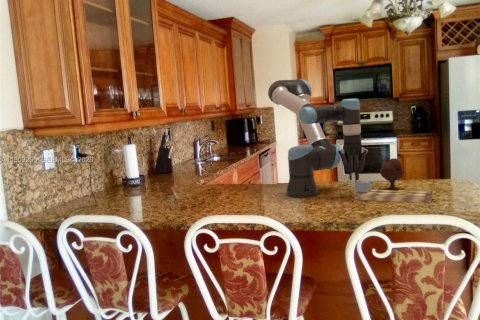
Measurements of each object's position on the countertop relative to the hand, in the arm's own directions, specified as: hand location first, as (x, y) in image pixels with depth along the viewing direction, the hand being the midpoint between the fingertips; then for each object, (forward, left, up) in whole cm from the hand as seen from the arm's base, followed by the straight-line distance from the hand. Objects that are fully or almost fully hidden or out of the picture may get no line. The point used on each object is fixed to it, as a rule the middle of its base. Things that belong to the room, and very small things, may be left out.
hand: (354, 187), depth 182 cm
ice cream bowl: (+12, +20, -5) cm, 24 cm away
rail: (+16, 0, -5) cm, 17 cm away
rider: (+4, 0, -3) cm, 5 cm away
